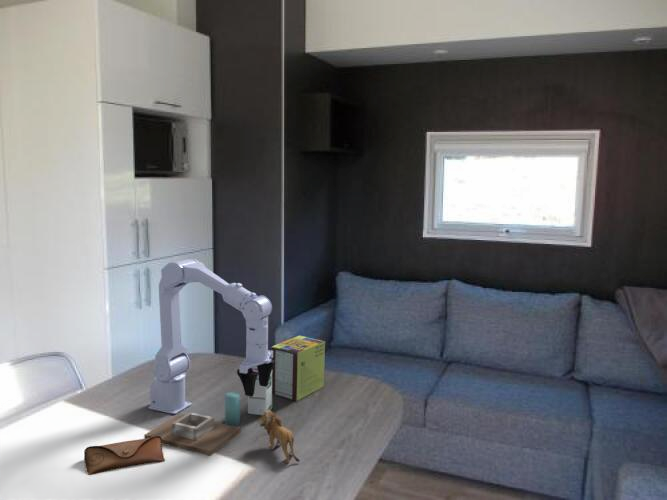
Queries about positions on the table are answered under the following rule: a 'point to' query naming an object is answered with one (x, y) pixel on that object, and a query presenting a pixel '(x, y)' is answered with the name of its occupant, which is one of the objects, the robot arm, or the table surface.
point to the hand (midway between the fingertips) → (256, 390)
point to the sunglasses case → (123, 454)
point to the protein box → (298, 367)
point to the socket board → (194, 433)
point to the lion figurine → (278, 433)
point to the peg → (232, 408)
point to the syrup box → (260, 397)
